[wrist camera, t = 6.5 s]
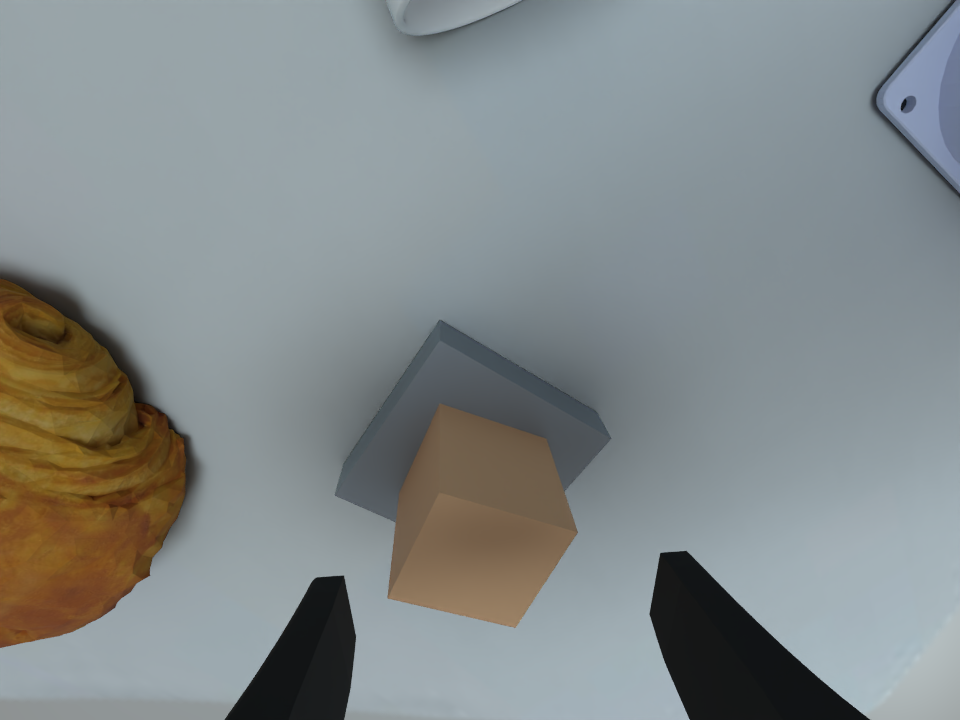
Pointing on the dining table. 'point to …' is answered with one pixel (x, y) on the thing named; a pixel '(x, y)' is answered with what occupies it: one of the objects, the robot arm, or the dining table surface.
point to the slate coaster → (470, 388)
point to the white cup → (441, 14)
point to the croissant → (74, 475)
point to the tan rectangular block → (478, 520)
